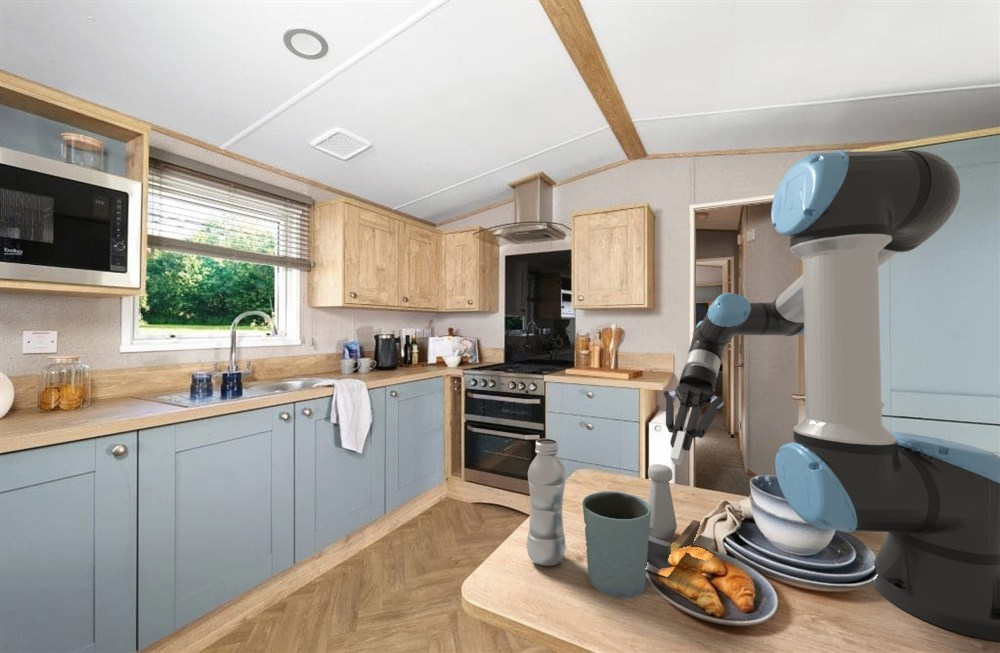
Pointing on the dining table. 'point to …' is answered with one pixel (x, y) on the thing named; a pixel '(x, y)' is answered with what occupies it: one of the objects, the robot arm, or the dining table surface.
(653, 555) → the dark grey angled piece
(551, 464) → the plastic bottle
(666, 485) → the salt shaker
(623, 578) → the green cup
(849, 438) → the robot arm
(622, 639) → the dining table surface
